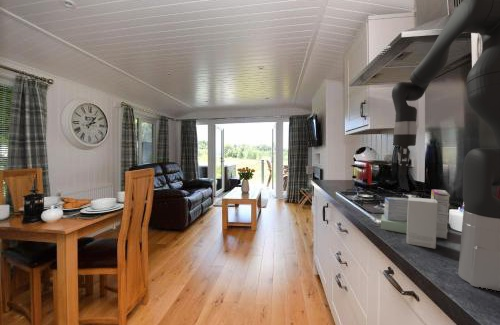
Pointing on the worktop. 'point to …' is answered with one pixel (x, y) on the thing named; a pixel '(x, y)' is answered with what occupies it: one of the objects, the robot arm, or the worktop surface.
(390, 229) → the sage block
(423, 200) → the skincare box
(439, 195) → the candy bar box
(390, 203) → the medicine box
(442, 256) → the worktop surface
